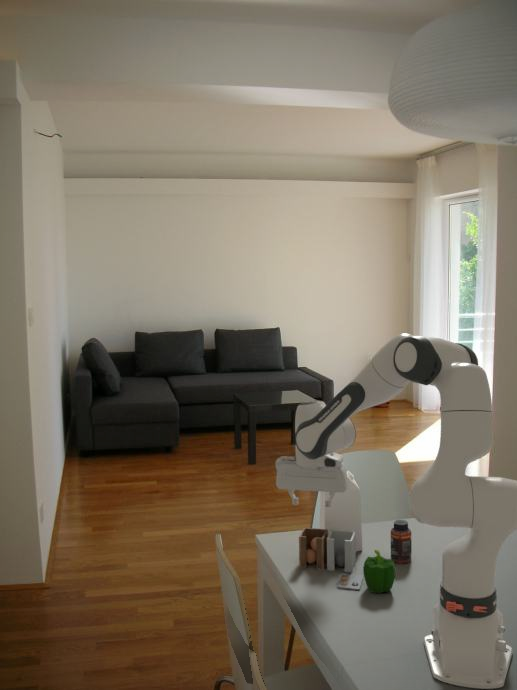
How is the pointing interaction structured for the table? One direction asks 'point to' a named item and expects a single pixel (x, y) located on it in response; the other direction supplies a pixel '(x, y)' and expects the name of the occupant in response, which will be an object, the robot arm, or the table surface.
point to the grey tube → (341, 548)
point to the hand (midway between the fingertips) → (311, 505)
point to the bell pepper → (379, 573)
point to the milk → (343, 511)
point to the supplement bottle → (401, 542)
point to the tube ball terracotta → (311, 555)
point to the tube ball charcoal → (340, 559)
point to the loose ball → (314, 543)
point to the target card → (350, 582)
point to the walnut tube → (305, 544)
